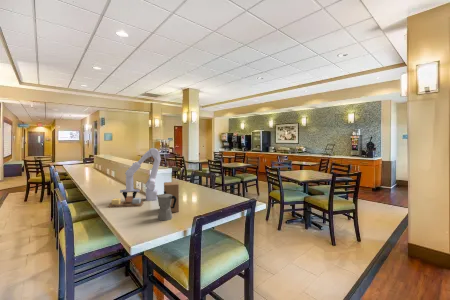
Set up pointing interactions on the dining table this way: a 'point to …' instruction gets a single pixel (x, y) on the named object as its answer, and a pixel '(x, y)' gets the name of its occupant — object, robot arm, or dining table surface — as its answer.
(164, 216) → the coffeepot
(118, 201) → the ochre cube
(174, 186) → the wooden block
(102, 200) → the dining table surface
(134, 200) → the slate cube
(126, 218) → the dining table surface
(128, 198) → the terracotta cube
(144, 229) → the dining table surface
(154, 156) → the robot arm
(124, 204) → the frame
